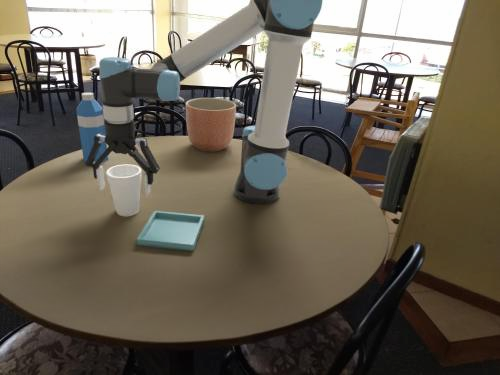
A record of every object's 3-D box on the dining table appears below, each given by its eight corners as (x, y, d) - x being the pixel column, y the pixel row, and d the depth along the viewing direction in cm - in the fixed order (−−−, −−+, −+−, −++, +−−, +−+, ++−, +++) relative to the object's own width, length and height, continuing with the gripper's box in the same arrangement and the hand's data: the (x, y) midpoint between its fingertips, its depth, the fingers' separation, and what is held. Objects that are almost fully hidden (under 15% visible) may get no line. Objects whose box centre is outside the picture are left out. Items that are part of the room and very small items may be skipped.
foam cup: (134, 221, 106) (131, 180, 100) (105, 216, 108) (99, 175, 102) (149, 205, 114) (147, 166, 109) (121, 201, 116) (117, 162, 110)
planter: (179, 152, 155) (178, 107, 147) (194, 136, 174) (194, 95, 165) (228, 158, 153) (230, 112, 144) (238, 142, 171) (240, 100, 163)
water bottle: (103, 164, 139) (95, 97, 128) (78, 163, 139) (68, 95, 128) (112, 155, 148) (105, 91, 137) (88, 153, 148) (79, 90, 137)
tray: (204, 221, 108) (204, 215, 107) (193, 251, 95) (193, 244, 94) (155, 216, 109) (154, 210, 108) (137, 245, 96) (136, 239, 95)
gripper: (169, 120, 101) (170, 190, 111) (80, 111, 102) (88, 180, 112) (161, 128, 95) (163, 202, 104) (65, 118, 96) (76, 192, 105)
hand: (124, 191), depth 108 cm, fingers open, 13 cm apart
